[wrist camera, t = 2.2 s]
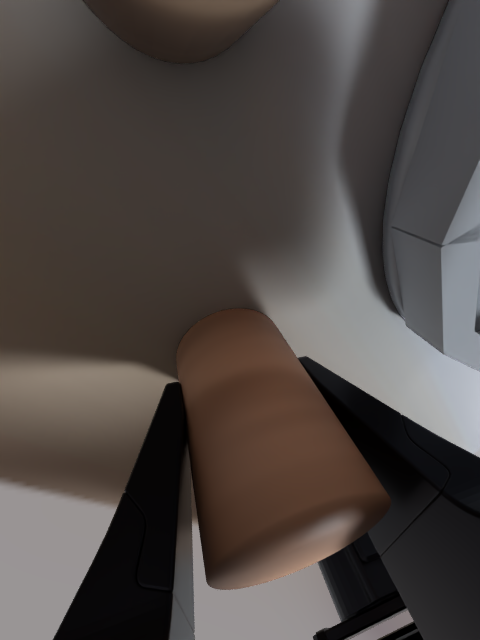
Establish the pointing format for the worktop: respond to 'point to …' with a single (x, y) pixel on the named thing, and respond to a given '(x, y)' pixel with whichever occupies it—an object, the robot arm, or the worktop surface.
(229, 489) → the brown cork stopper
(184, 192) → the worktop surface
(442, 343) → the groove tray
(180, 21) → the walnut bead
